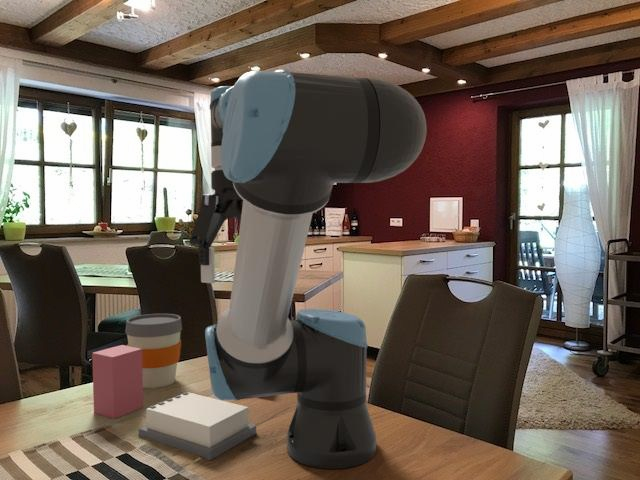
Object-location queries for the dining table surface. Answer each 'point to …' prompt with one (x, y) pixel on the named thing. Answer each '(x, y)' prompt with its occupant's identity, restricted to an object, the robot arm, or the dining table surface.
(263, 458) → the dining table surface
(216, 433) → the white notepad
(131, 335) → the reusable coffee cup
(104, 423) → the dining table surface
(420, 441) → the dining table surface
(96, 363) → the pink block
